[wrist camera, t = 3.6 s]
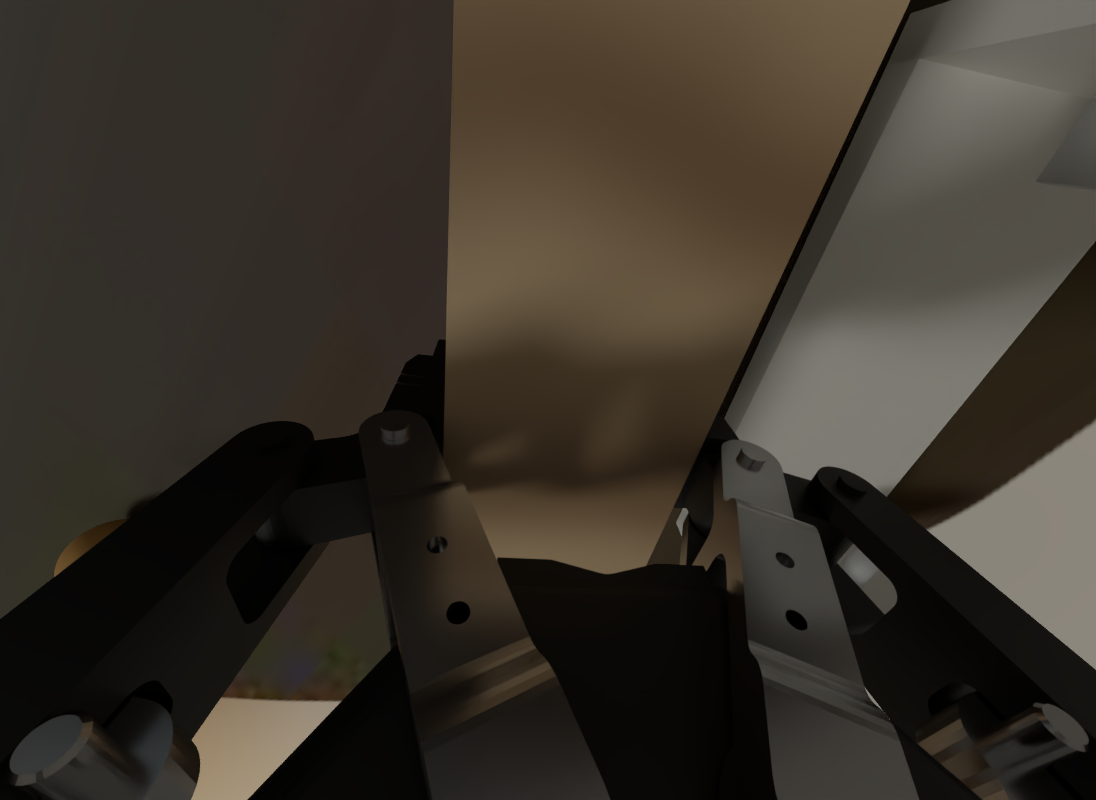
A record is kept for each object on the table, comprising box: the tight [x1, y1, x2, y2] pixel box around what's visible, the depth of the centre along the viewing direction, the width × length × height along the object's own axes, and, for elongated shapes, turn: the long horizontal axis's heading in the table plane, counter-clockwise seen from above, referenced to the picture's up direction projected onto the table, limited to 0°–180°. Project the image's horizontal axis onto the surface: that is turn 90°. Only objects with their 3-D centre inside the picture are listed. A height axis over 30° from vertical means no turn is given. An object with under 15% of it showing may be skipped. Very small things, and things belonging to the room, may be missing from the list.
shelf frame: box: [676, 0, 1096, 614], centre depth 15 cm, size 22×10×8 cm, turn 171°
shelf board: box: [443, 0, 910, 574], centre depth 10 cm, size 18×6×2 cm, turn 171°
